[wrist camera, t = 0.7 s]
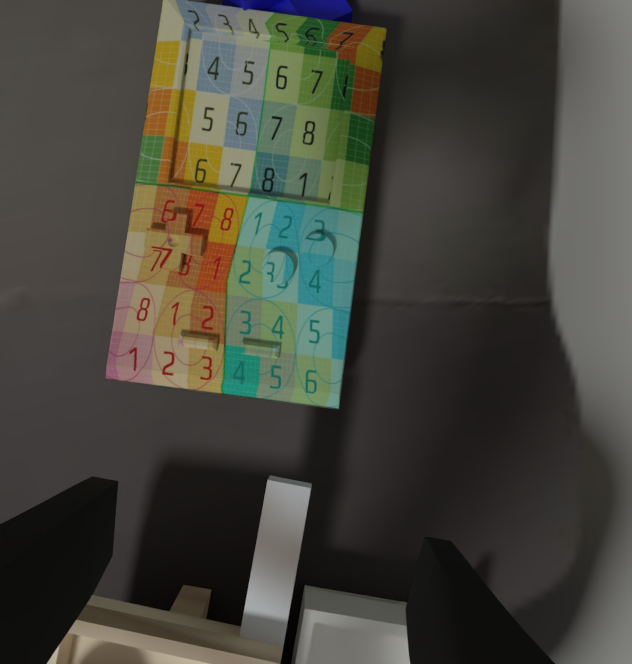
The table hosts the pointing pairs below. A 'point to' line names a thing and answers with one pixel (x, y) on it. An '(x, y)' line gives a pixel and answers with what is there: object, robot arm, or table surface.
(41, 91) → the table surface
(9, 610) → the robot arm
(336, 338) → the puzzle game
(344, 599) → the bin
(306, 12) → the cable clip
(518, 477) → the table surface
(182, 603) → the tan flat block
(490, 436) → the table surface
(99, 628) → the tipping tray
